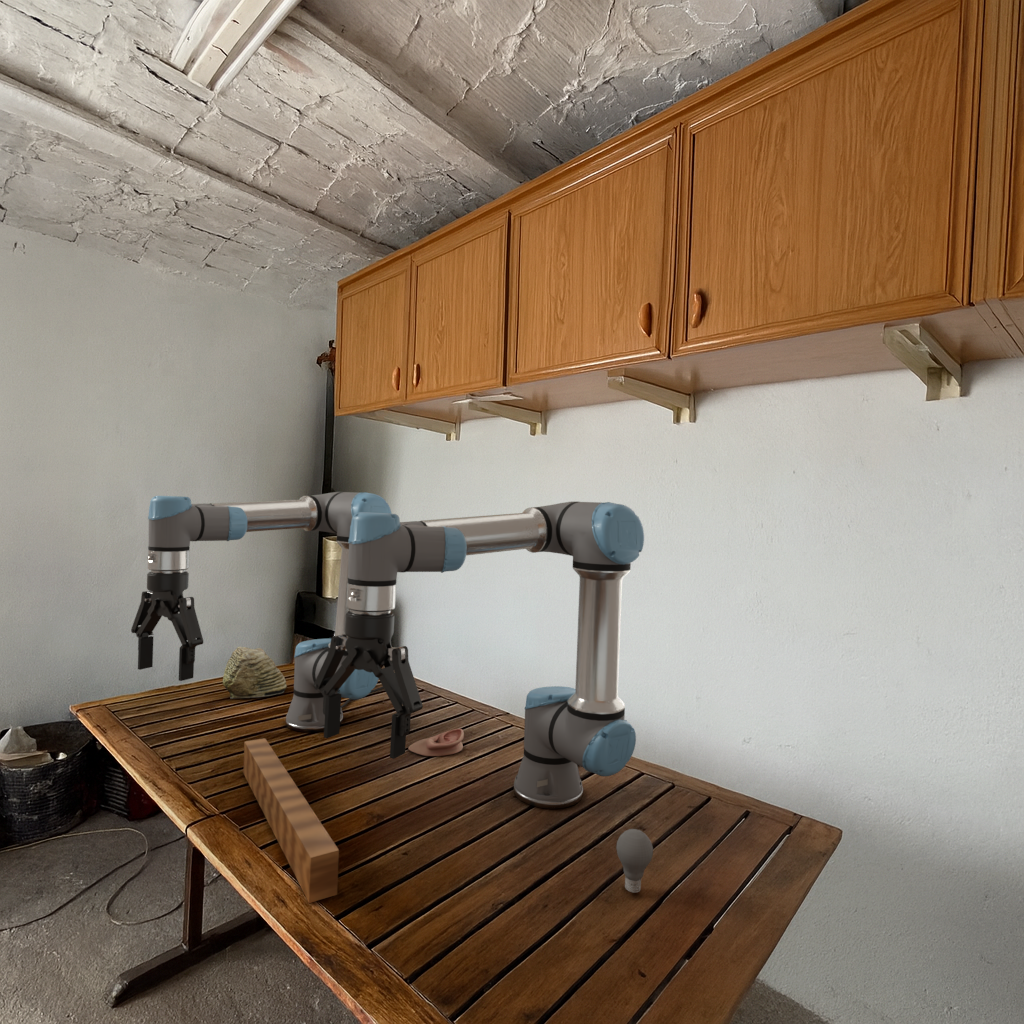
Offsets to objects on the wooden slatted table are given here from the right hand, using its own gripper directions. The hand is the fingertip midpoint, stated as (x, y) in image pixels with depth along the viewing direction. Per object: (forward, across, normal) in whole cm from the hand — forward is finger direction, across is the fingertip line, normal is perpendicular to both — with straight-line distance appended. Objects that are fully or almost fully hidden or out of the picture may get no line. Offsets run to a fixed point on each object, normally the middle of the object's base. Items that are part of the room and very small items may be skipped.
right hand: (363, 745), depth 100 cm
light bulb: (+24, +36, +27) cm, 51 cm away
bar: (+25, -28, +10) cm, 39 cm away
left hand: (0, -57, +4) cm, 57 cm away
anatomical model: (+24, -25, +57) cm, 67 cm away
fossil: (+25, -96, +59) cm, 116 cm away
